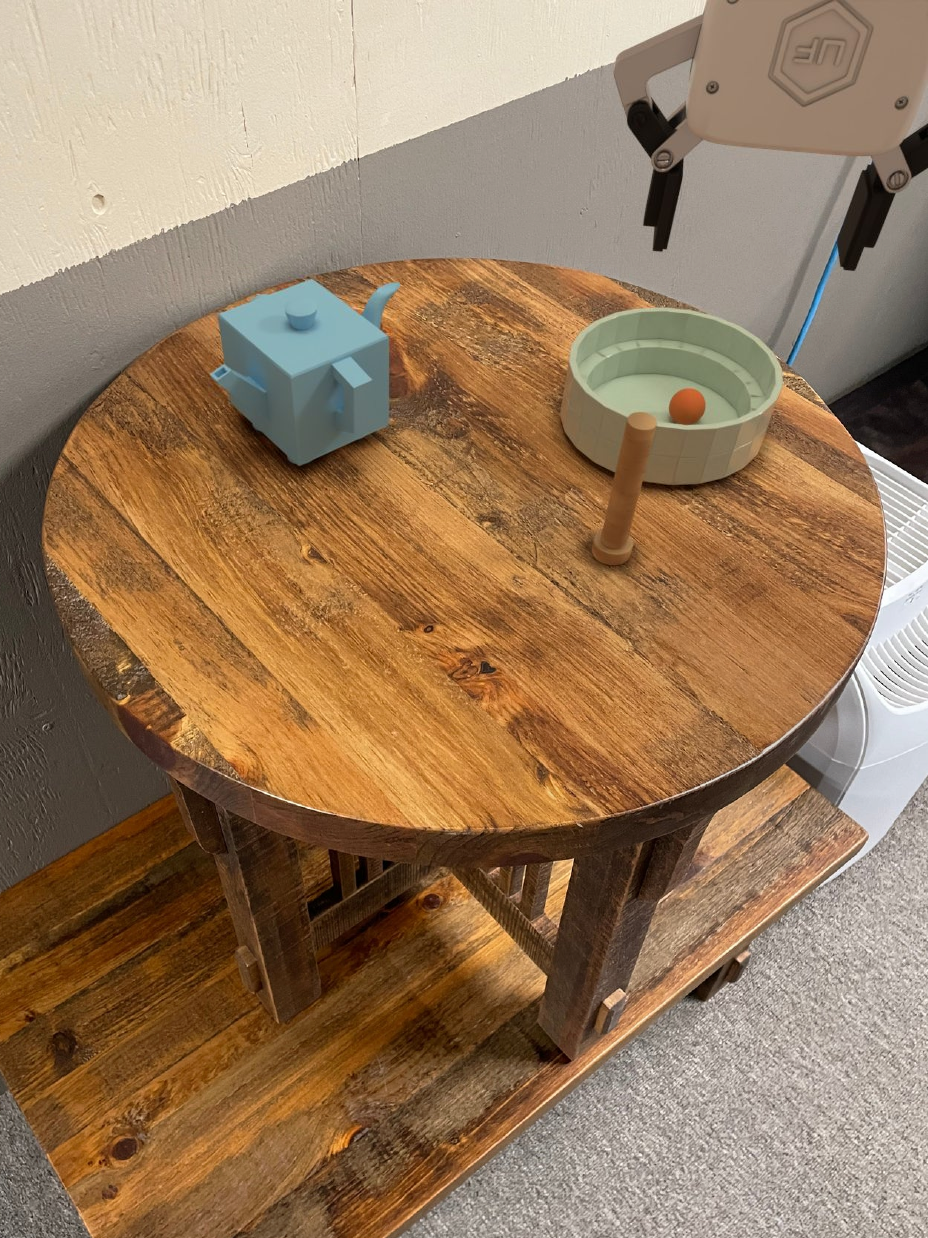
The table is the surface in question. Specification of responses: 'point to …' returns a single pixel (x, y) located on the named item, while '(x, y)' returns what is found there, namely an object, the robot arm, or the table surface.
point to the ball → (687, 406)
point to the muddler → (625, 491)
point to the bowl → (671, 391)
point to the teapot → (307, 367)
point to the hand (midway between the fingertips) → (751, 248)
